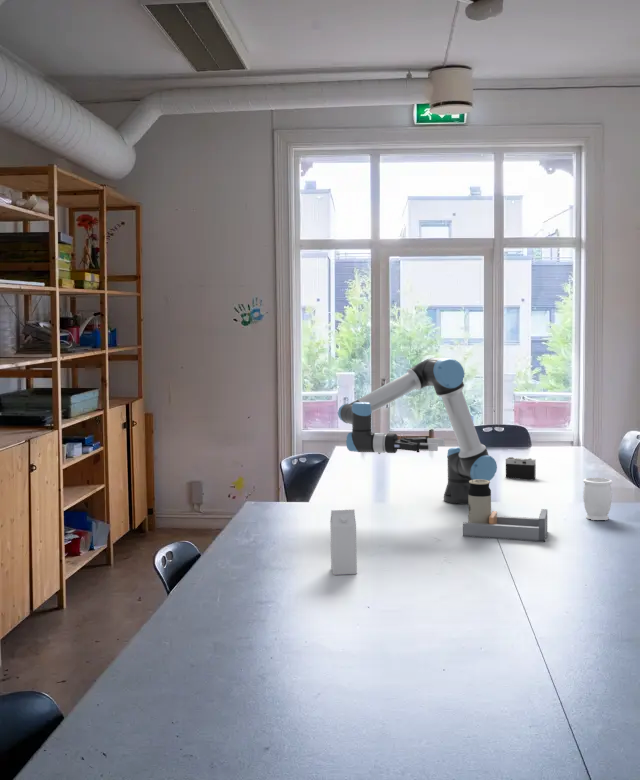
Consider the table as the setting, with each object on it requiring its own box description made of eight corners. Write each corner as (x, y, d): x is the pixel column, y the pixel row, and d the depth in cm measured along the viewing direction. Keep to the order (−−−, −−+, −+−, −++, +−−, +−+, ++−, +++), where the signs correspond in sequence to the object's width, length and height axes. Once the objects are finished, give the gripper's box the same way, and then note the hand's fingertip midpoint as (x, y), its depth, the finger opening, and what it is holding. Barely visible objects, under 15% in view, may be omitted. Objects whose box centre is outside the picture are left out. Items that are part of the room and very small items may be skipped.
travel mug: (492, 528, 285) (492, 479, 284) (489, 533, 277) (489, 483, 276) (470, 527, 287) (470, 478, 286) (467, 532, 280) (466, 482, 279)
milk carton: (331, 568, 242) (330, 507, 241) (354, 567, 243) (352, 507, 241) (333, 575, 235) (332, 513, 234) (357, 574, 236) (355, 512, 234)
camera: (537, 477, 387) (537, 457, 386) (534, 480, 380) (534, 459, 379) (509, 475, 393) (509, 455, 393) (505, 478, 386) (505, 457, 386)
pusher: (492, 527, 286) (492, 511, 285) (496, 527, 285) (496, 511, 285) (489, 534, 276) (489, 517, 276) (493, 534, 276) (493, 517, 275)
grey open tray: (469, 526, 291) (469, 505, 291) (547, 531, 282) (547, 509, 281) (462, 536, 277) (462, 514, 276) (544, 541, 268) (544, 518, 267)
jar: (614, 522, 293) (614, 482, 292) (585, 521, 295) (585, 482, 294) (609, 515, 303) (609, 477, 302) (581, 515, 305) (581, 477, 304)
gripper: (394, 448, 314) (447, 449, 307) (377, 457, 291) (434, 459, 283) (394, 429, 313) (446, 430, 306) (377, 437, 290) (434, 439, 283)
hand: (441, 444), depth 295 cm, fingers open, 13 cm apart
